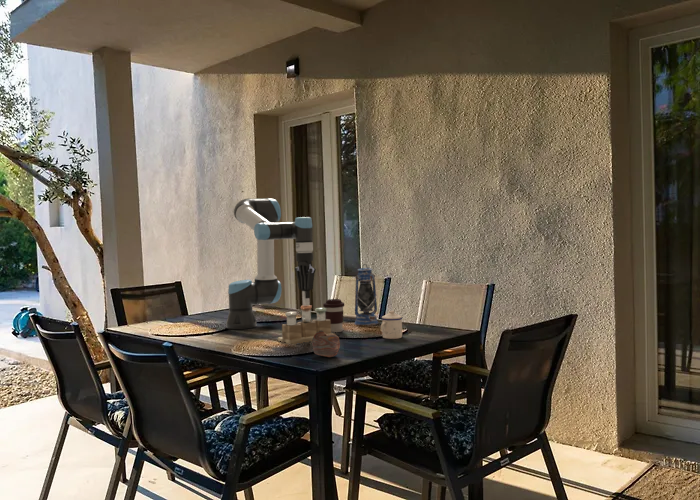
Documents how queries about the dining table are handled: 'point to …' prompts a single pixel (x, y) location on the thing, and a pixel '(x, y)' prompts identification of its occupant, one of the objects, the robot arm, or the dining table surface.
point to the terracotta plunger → (306, 314)
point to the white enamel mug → (391, 326)
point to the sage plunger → (321, 314)
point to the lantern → (365, 297)
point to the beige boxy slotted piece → (304, 331)
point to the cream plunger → (291, 318)
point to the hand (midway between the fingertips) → (306, 305)
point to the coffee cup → (334, 314)
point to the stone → (325, 344)
